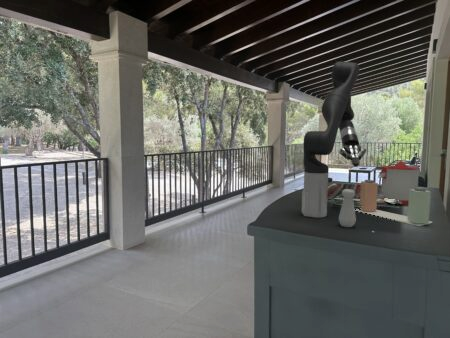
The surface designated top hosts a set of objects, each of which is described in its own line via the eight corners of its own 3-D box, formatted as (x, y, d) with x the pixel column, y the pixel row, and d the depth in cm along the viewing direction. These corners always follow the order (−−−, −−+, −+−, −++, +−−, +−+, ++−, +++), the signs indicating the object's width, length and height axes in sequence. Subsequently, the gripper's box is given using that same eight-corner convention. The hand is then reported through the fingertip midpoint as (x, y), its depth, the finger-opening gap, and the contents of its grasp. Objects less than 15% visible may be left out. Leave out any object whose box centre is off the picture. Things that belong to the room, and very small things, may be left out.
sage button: (414, 223, 123) (416, 189, 121) (407, 219, 127) (409, 187, 126) (428, 223, 122) (431, 189, 121) (421, 219, 127) (423, 187, 126)
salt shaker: (356, 228, 118) (358, 191, 117) (339, 227, 119) (341, 190, 118) (354, 224, 124) (355, 188, 122) (337, 223, 125) (339, 188, 123)
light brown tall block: (364, 210, 141) (365, 181, 140) (359, 208, 146) (361, 179, 145) (376, 210, 141) (378, 181, 140) (371, 208, 146) (373, 179, 145)
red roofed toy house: (372, 198, 171) (374, 158, 168) (409, 200, 168) (412, 159, 166) (382, 205, 155) (384, 161, 153) (423, 207, 153) (426, 162, 151)
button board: (352, 210, 145) (352, 209, 145) (365, 208, 150) (365, 207, 150) (419, 226, 122) (419, 225, 122) (432, 222, 126) (432, 221, 126)
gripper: (337, 132, 166) (344, 160, 156) (365, 133, 166) (373, 160, 155) (334, 143, 172) (340, 170, 162) (360, 143, 172) (368, 170, 161)
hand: (356, 165), depth 158 cm, fingers closed
